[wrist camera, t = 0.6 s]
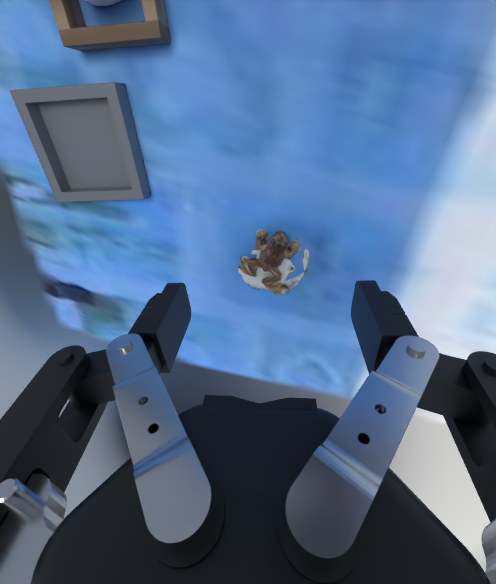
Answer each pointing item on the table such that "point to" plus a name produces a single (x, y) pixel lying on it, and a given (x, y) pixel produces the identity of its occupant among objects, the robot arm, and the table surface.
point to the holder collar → (110, 27)
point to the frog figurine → (272, 263)
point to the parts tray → (85, 141)
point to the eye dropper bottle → (102, 2)
